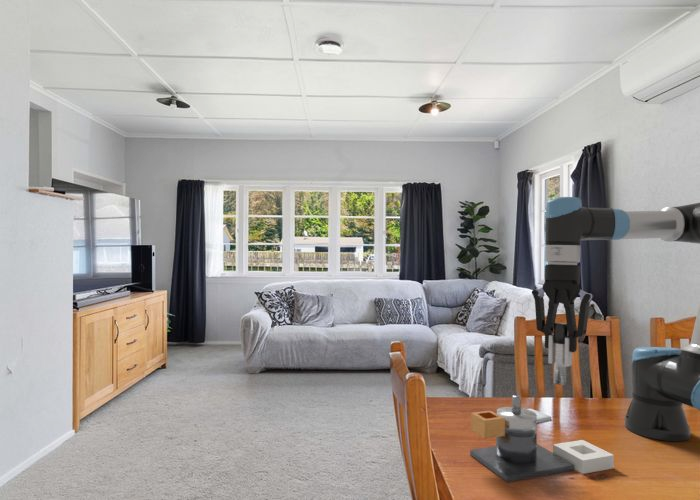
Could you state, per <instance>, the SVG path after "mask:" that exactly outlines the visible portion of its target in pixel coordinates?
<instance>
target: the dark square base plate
mask: <svg viewBox="0 0 700 500" xmlns="http://www.w3.org/2000/svg"><path fill="white" fill-rule="evenodd" d="M537 434H538V432H537V433H536V434H534V435H532V436H514V435H509V434H506V433H505V436H499V437H495V438H496V442H495V443H496V445H494V446H488V447H482V448H473V449H470V450H469V451H470V452H469V454H470V455H469V456H471V457H473V458H474V459H475V460H476V461H477V462H479V463H480V464H482V465H483V466H484V467H486V468H487V469H489V470H490V471H491V472H492V473H494V474H495V475H497V476H498V477H500V478H501V480H502V481H503V480H504V481H505V483H511V482H517V481H522V480H523V481H524V480H528V479H532V478H539V477H545V476H550V475H554V474H560V473H565V472H566V473H567V472H571V471H572V472H573V471H575V469H574V465H573V464H572V463H570V462H568V461H566V460H564V459H563V458H561V457H559V456H557V455H556V454H554V453H553V451H551V450H549V449H547V448H545V447H543V446H541V445H540V444H538V442H537V439H538V438H537V437H538V435H537Z"/></svg>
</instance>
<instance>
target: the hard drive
mask: <svg viewBox="0 0 700 500" xmlns="http://www.w3.org/2000/svg"><path fill="white" fill-rule="evenodd" d="M527 409H528V410H530V411H533V412H534V413H536V415H537V424H538V423H542V422H548V421H551V420H552V416H550V415H549V414H546V413H543V412H541V411H540V410H539V411H538V410H536V409H533V408H527Z"/></svg>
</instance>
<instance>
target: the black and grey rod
mask: <svg viewBox="0 0 700 500" xmlns="http://www.w3.org/2000/svg"><path fill="white" fill-rule="evenodd" d="M553 332H554V333H553V334H554V343H555V345H554V363H553V384H555V385H557V386H558V385H559V386H566V384H567V367H566V366H564V360H565V338H566V337H567V336H568V328H567V322H566V323H565V322H555V323H554V330H553Z"/></svg>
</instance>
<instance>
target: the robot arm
mask: <svg viewBox="0 0 700 500" xmlns="http://www.w3.org/2000/svg"><path fill="white" fill-rule="evenodd" d="M544 218H545V222H544V227H543V228H544V232H545V233H544V234H545V246H544V247H545V248H544V250H545V251H544V261H545V262H547V264H545V265H544V283H543V284H542V287H540V288H537V289H532V291H531V294H532V297H533V299H534V306H535V307H534V308H535V323H536V330H537V332H541V333H543V334H544V347H545V349H548V355H547V356H548V357H547V358H548V362H547V363H548V364H549V365H552V364H554V345H555V343H554V323H556V319H557V313H558V309H559V308H558V307H559V305H560V304H563V308H564V311H565V320H566V323H567V328H568V336H567V337H566V338H565V360H564V366H566V368H567V367H568V368H569V367H571V366H572V365H573V353H575V352H576V351H577V349H578V348H577V347H578V346H577V345H578V343H577V342H578V338H579V337H583V336H585V335H587V329H588V320H589V312H590V311H589V310H590V304H591V303H592V300H593V298H594V294H593V293H588V292H587V291H584V290H583V289H582V286H581V278H580V277H581V267H580V265H578V264H579V263H580V262H581V245H582V243H581V242H582V241H599V240H600V241H601V240H602V241H604V240H605V241H609V242H610V241H619V240H639V239H642V240H643V239H660V240H662V241H664V242H681V243H690V244H691V243H692V244H700V202H696V203H692V204H691V203H690V204H685V205H680V206H679V205H678V206H666V207H663V208H662V209H661V210H660V209H659V210H640V211H639V210H637V211H636V210H635V211H633V210H631V211H626V210H623V209H619V208H613V207H610V208H609V207H607V208H606V207H584V206H583V205H582V199H581V198H579V197H575V196H560V197H559V196H558V197H553V198H549V199H548V200H547V201H546V207H545V217H544ZM544 296H547V298H548V305H547V306H548V309H547V313H545V312H546V311H545V299H544ZM577 297H579V300H580V305H579V310H578V311H579V313H578V321H576V320H577V319H576V312H575V300H576V299H577ZM698 304H699V305H698V309H697V313H696V318H695V321H694V326H693V330H692V333H691V334H692V335H691V340H690V343H689V344H688V345H686V346H684V347H682V348H677V347H665V346H662V347H661V346H641V347H636V348H635V349H634V350H633V351H632V360H631V388H632V389H631V391H632V392H631V402H630V404H629V406H628V409H627V411H626V414H625V416H624V427H625V428H626V429H628V430H629V431H630V432H632V433H634V434H635V435H636V434H637V435H640V436H643V437H645V438H648V439H649V438H650V439H653V440H657V441H658V440H660V441H664V442H665V441H666V442H685V441H688V440H690V439H691V427H690V426H689V423H688V419H687V416H686V413H685V411H684V407H683V405H686V406H688V407H692V408H694V409H696V410H698V411H700V302H699V303H698Z"/></svg>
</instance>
